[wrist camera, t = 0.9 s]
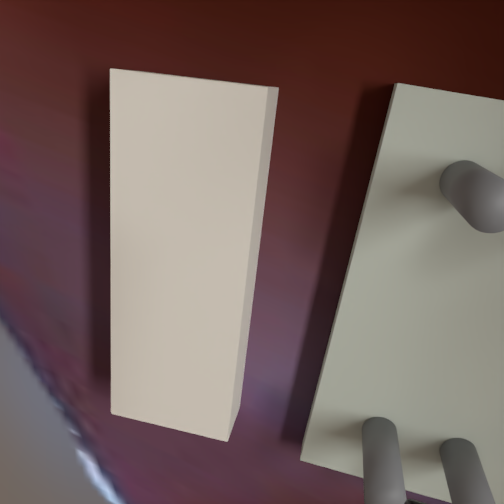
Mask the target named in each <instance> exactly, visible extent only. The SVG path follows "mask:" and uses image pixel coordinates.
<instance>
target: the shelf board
mask: <svg viewBox="0 0 504 504" xmlns="http://www.w3.org/2000/svg"><path fill="white" fill-rule="evenodd" d="M278 90H279V88H278V87H270V86H261V85H253V84H244V83H236V82H228V81H219V80H211V79H202V78H194V77H185V76H177V75H168V74H160V73H152V72H143V71H133V70H122V69H111V68H110V250H111V414H115V415H119V416H123V417H127V418H131V419H135V420H139V421H144V422H148V423H152V424H156V425H160V426H164V427H168V428H172V429H177V430H181V431H185V432H189V433H193V434H197V435H201V436H205V437H209V438H214V439H218V440H222V441H226V442H228V439H229V436H230V433H231V431H232V428H233V425H234V422H235V419H236V416H237V413H238V411H239V408H240V401H241V393H242V384H243V376H244V368H245V360H246V352H247V344H248V335H249V327H250V319H251V311H252V303H253V295H254V286H255V278H256V270H257V262H258V254H259V246H260V237H261V229H262V221H263V213H264V205H265V197H266V188H267V180H268V172H269V164H270V156H271V148H272V139H273V131H274V123H275V115H276V107H277V99H278Z"/></svg>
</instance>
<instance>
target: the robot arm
mask: <svg viewBox="0 0 504 504" xmlns="http://www.w3.org/2000/svg"><path fill="white" fill-rule="evenodd" d="M404 504H426V503H422V502H419V501H416V500H413V499H408V500H406V501H405V503H404Z"/></svg>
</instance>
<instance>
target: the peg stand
mask: <svg viewBox="0 0 504 504" xmlns="http://www.w3.org/2000/svg"><path fill="white" fill-rule="evenodd" d="M300 460H301V461H305V462H308V463H312V464H315V465H319V466H322V467H326V468H329V469H333V470H336V471H340V472H344V473H347V474H351V475H354V476H358V477H361V478H363V480H364V503H365V504H404V503H405V501H406V500H407V499H406V492H405V490H407V491H411V492H414V493H418V494H421V495H425V496H429V497H432V498H436V499H439V500H443V501H446V502H450V503H452V504H504V101H503V100H497V99H491V98H485V97H479V96H473V95H467V94H461V93H455V92H449V91H443V90H437V89H431V88H425V87H419V86H413V85H407V84H401V83H395V84H394V88H393V92H392V96H391V100H390V103H389V107H388V111H387V115H386V119H385V123H384V127H383V131H382V135H381V138H380V142H379V146H378V150H377V154H376V158H375V162H374V166H373V170H372V173H371V177H370V181H369V185H368V189H367V193H366V197H365V201H364V205H363V208H362V212H361V216H360V220H359V224H358V228H357V232H356V236H355V240H354V243H353V247H352V251H351V255H350V259H349V263H348V267H347V271H346V275H345V278H344V282H343V286H342V290H341V294H340V298H339V302H338V306H337V310H336V314H335V317H334V321H333V325H332V329H331V333H330V337H329V341H328V345H327V349H326V352H325V356H324V360H323V364H322V368H321V372H320V376H319V380H318V384H317V387H316V391H315V395H314V399H313V403H312V407H311V411H310V415H309V419H308V422H307V426H306V430H305V434H304V438H303V442H302V448H301V456H300Z"/></svg>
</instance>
